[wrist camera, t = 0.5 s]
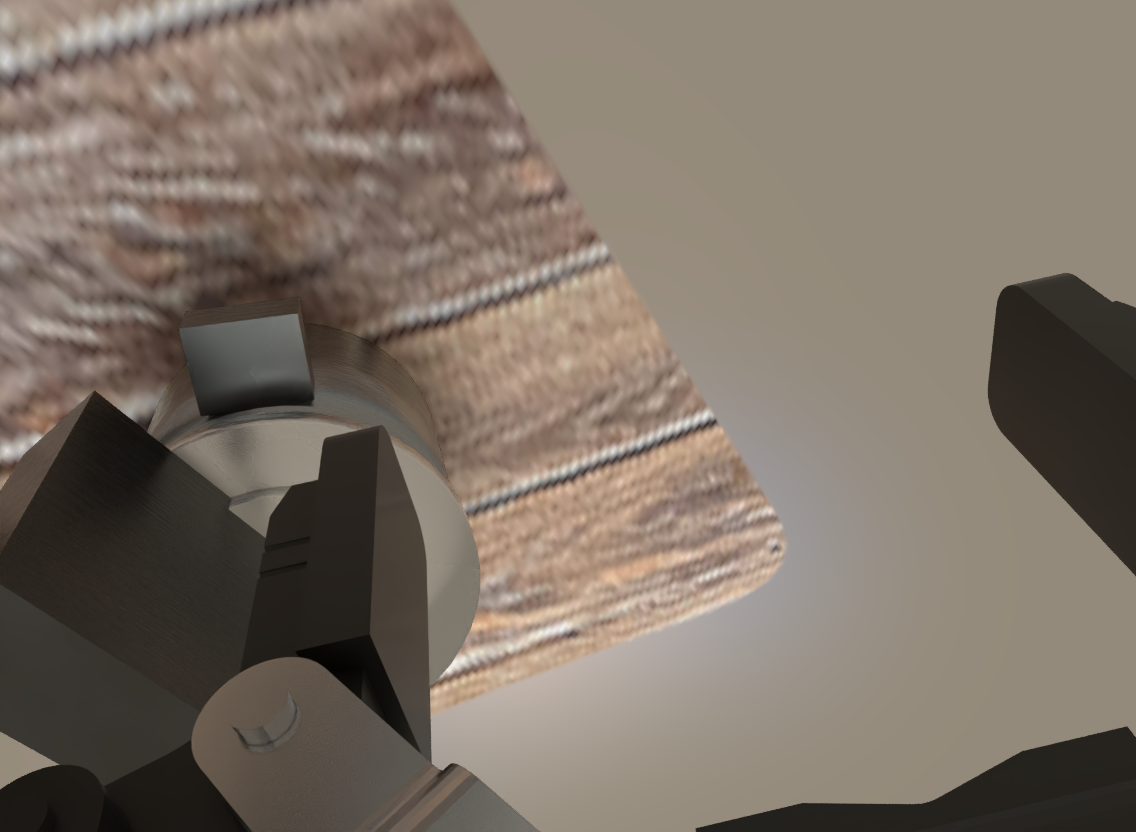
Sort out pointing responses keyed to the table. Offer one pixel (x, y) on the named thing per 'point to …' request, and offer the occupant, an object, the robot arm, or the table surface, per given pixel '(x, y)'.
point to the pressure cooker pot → (288, 376)
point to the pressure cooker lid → (167, 573)
